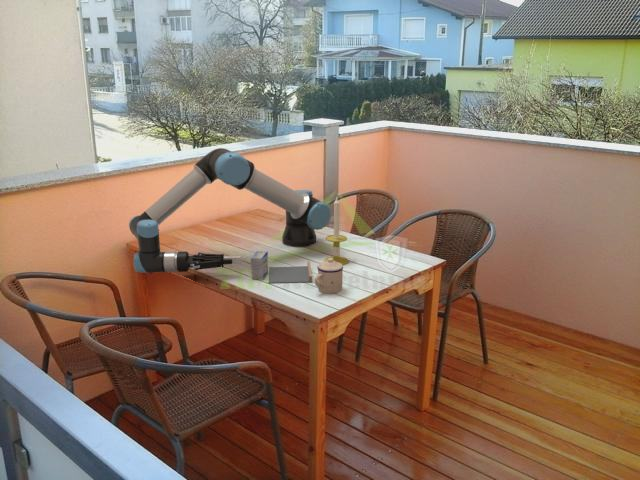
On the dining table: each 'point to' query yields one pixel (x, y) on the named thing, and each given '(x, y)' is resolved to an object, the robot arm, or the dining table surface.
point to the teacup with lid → (329, 277)
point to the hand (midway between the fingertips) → (241, 260)
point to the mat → (290, 274)
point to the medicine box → (259, 265)
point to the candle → (337, 237)
